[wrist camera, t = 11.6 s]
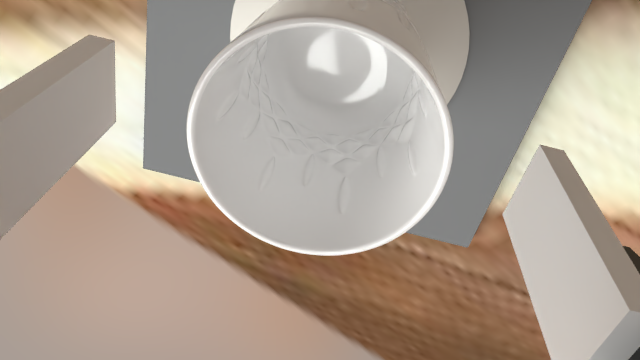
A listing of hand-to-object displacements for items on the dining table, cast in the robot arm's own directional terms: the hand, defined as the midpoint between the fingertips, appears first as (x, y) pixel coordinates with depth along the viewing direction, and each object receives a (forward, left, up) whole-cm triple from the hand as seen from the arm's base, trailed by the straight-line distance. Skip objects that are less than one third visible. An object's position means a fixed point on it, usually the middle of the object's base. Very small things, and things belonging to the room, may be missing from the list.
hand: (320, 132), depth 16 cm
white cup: (0, 0, -9) cm, 9 cm away
